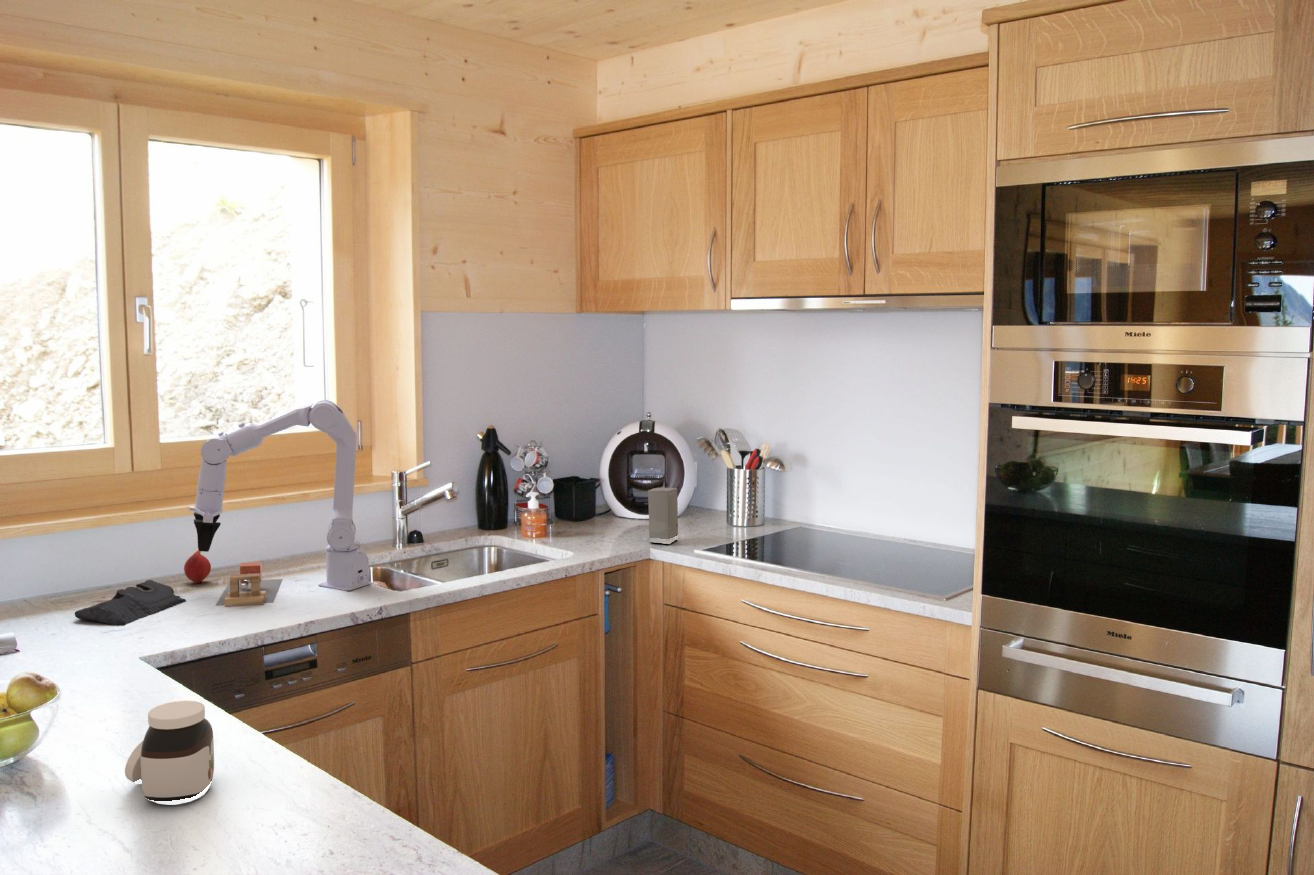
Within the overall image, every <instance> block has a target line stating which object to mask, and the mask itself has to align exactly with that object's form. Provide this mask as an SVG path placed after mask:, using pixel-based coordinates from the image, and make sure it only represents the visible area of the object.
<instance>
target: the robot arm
mask: <svg viewBox="0 0 1314 875" xmlns="http://www.w3.org/2000/svg"><path fill="white" fill-rule="evenodd" d="M310 424H311V425H312V426H313V427H314V428H315V429H316V430H319V431H321V432H323V433H324V434H327V435H328V437H329V438H330V439H332V440H333V442H335V443H336V451H335V452H336V453H335V468H334V470H335V471H334V484H333V485H334V486H333V487H334V488H333V502H332V503H333V506H332V517H331V523H330V524H329V526H328V531H327V533H326V541H327V544H328V545H327V546H325V563H326V564H325V566H326V568H325V569H326V581H325V582H321V583H318V587H321V588H327V589H335V590H340V591H341V590H342V591H348V592H349V591H352V590H355V589H359V588H362V587H365V586H368V585H371V584H372V582H371V581H370V578H369V577H370V576H369V575H370V574H369V573H370V572H369V571H370V570H369V569H370V568H369V565H370V564H369V557H368V554H367V553H366V552H365V551H362V550H360V549H359V547H358V544H357V543H356V542H355V539H356V532H357V530H356V529H357V528H356V525H355V523H354V520H353V512H354V511H353V507H354V491H355V490H354V489H355V475H356V458H357V441H358V440H357V439H358V437H357V432H356V430H355V429H354V427H353V426H352V423H351V422H350V420H349V419H348V417H347V416H346V414H345V412H344V410H343V409H342V408H341V407H339V406H338V405H337V404H336V403H335V402H333V401H331V400H329V399H326V400H325V399H324V400H320V401H318V402H316V403H315V404H314V403H310V404H307V405H306V404H305V405H303V406H299V407H296V408H293V409H292V410H289V411H287V412H285V413H283V414H280V415H278V416H275V417H274V418H271V419H269V420H267V421H265V422H263V423H260V424H255V423H252V422H247V423H246V422H244V421H243V422H241V423H239V424H237V426H238V427H235V428H233V429H231V430H228V431H226V432H224V431H220V432H219V433H217V436H213V437H211V438H209V439H208V440H206V441H205V442H203V444H202V446H201V448H200V456H201V461H200V468H199V472H198V480H197V488H196V495H195V504H194V505H190V506H189V507H188V511H191V512H193V515H194V519H193V524H194V526H195V529H196V535H197V550H199V551H200V552H203V553H205V552H207V553H208V552H209V551H210V548H211V546H212V543H213V541H214V540H213V539H214V537H215V534H216V533H217V531H218V529H219V528H220V526H221V522H220V521H219V522H218V519H219V518H220V516H221V514H222V513H223V501H224V496H225V495H224V494H225V485H226V479H227V478H226V477H227V464H228V460H227V459H229V457H230V456H232V457H235V456H238V455H240V454H243V453H245V452H248V451H250V450H252V449H254V448H257V447H260V446H261V445H262V443H263V440H264V438H267V437H269V436H271V435H273V434H276V433H278V432H282V431H284V430H286V429H289V428H291V427H294V426H300V427H301V426H303V427H307V428H308V427H309V426H310Z"/></svg>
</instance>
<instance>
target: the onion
mask: <svg viewBox="0 0 1314 875" xmlns="http://www.w3.org/2000/svg"><path fill="white" fill-rule="evenodd" d="M183 570H184V575H185V576H186V578H187V579H188V580H190V581H191V582H193V583H195V584H201V583H202V582H203V581H204V580H205V579H206V578H207V577H208V576H209V575H210V573H211V570H212V564H211V562H210V560H209V559H208V558H207V557H206V556H204V555H203V554H201V551H199V550H198V549H197V550H195V551H194V553H193V554H192V555H191V556H190V557H188V559H187V560H186V561H185V563H184V567H183ZM200 582H201V583H200Z"/></svg>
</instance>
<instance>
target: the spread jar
mask: <svg viewBox="0 0 1314 875" xmlns="http://www.w3.org/2000/svg"><path fill="white" fill-rule="evenodd" d="M205 708H206V707H205V704H203V702H200V701H195V700H179V701H178V700H176V701H169V702H166V703H162V704H159V705H157V706H155V707H153V708H151V709H150V710H149V711H148V713H147V719H148V720H147V722H148V726H149V727H148V728H147V730H146V732H145V735H144V738H143V740H142V741H141V742H140V743H139V744H138V745H136V747H135V748H134V749H133V751H132V752H130V755H129V757H128V758H127V761H126V764H125V767H124V775H125V777H126V779H127V780H129V781H130V782H131V783H133V782H135V781H137V780H139V779H141V780H142V785H141V790H142V794H143V797H144V798H145V799H146V798H147V799H149V800H154V801H172V800H180V799H185V798H191V797H193V796H196V795H197V794H199V793H200V792H202V791H203V790H204V789H205V788H206V787H207V786H208V785H209V784H210V782H211V781H212V782H213V777H214V771H215V745H214V742H215V740H214V731H213V726H212V724H211V723H210V722H209V720H208V719H207V718H206V709H205ZM147 799H146V800H147Z"/></svg>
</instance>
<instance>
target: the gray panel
mask: <svg viewBox="0 0 1314 875" xmlns="http://www.w3.org/2000/svg"><path fill="white" fill-rule="evenodd" d="M282 581H283V578H277V579H276V578H274V579H272V578H271V579H262V581H261V582H260V591H266V599H265V601H264V604H273V603H274V602H275V599H276V597H277V594H278V592H279V589H280V586H281V585H282ZM241 584H242V583H240V580H239V592H251V583H249V584H248V586H247V589H246V590H245V591H242V590H240V585H241ZM228 593H230V581H229V582H228V583H227V585H226V587H225V588H224V591H223V592H222V594H221V595H220V597H219V598H218V600H217V602H216V604H215V606H224V599H225V597H226V596H227V594H228Z"/></svg>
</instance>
